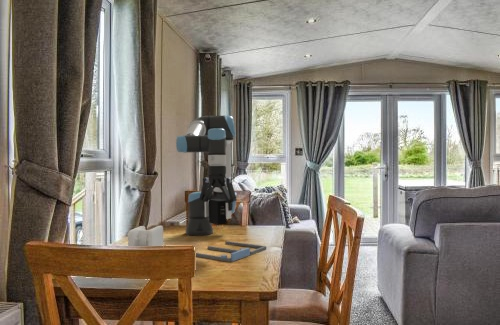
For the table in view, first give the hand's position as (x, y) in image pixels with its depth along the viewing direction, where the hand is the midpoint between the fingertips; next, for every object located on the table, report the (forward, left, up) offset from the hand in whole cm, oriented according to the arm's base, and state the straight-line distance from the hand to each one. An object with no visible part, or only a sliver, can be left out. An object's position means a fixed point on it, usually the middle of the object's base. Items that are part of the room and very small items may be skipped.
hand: (217, 217), depth 163 cm
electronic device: (0, 0, -3) cm, 3 cm away
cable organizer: (+15, -27, -16) cm, 35 cm away
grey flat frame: (-7, 0, -16) cm, 17 cm away
